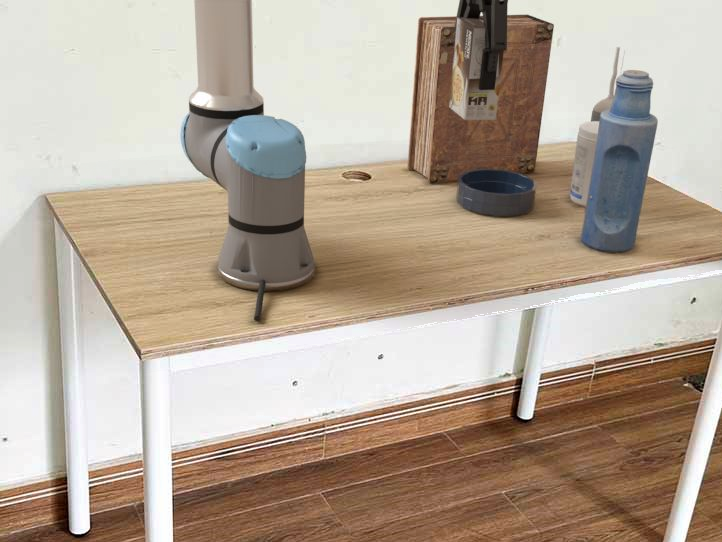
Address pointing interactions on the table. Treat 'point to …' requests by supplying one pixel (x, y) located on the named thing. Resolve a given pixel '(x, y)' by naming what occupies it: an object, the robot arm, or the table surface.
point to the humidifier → (607, 102)
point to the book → (478, 137)
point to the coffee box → (472, 73)
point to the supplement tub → (583, 162)
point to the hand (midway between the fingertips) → (474, 82)
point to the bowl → (496, 192)
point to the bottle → (620, 166)
